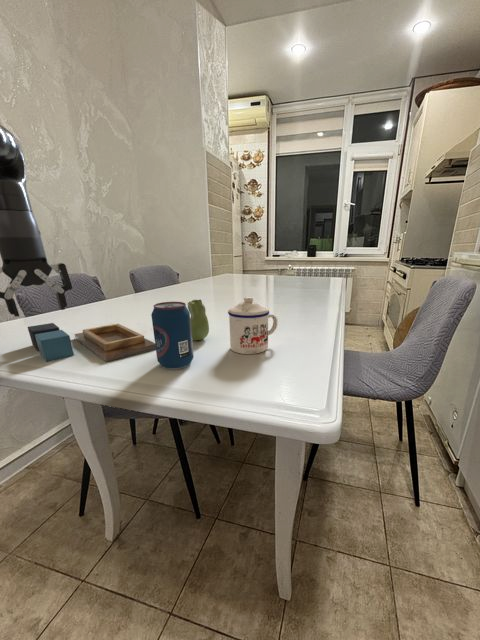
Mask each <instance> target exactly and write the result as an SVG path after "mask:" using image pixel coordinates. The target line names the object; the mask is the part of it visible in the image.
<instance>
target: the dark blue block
mask: <svg viewBox="0 0 480 640" xmlns="http://www.w3.org/2000/svg"><path fill="white" fill-rule="evenodd" d="M58 330H61V329H60V327H59V326H58V325H56V324H55V323H54V322H48V323H43V324H38V325H30V326H27V331H28V334H29V337H30V341H31V344H32V346H33V347H34V349H35V350H36V351H37V352H39V348H38V345H37V341H36V338H35V334H40V333H46V332H52V331H58Z"/></svg>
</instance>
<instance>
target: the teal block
mask: <svg viewBox="0 0 480 640" xmlns="http://www.w3.org/2000/svg"><path fill="white" fill-rule="evenodd" d="M35 338H36V341H37V345H38V348H39V351H38V352H39V355H40V356H41V357H42V358H43V359H44V361H45V362H49V361H56V360H59V359H64V358H68V357H73V356H75V353H74V349H73V345H72V341H71V336H70V335H69V334H68V333H67V332H65V331H64V330H63V329H60V330H58V331H52V332H46V333H40V334H35Z"/></svg>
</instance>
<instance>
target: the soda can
mask: <svg viewBox="0 0 480 640" xmlns="http://www.w3.org/2000/svg"><path fill="white" fill-rule="evenodd" d="M150 316H151V322H152V323H151V324H152V332H153V338H154V343H155V346H156V349H155V353H156V360H157V362H158V364H159V365H160V366H161V367H162V368H163V369H165V370H170V371H171V370H172V371H173V370H181V369H185V368H187V367H189V366H190V365H191V363H192V362H193V359H194V344H193V339H192V333H191V321H190V318H191V314H190V312H189V310H188V306H187V304H186V302H183V301H164V302H158V303H155V304H153V310H152V312H151V315H150Z"/></svg>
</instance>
